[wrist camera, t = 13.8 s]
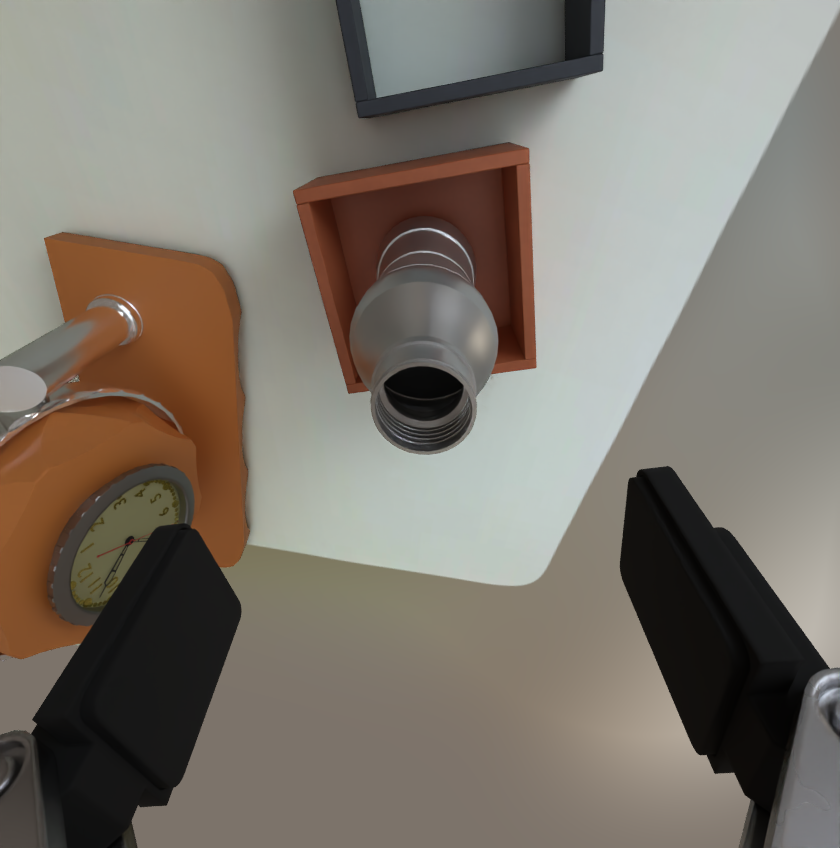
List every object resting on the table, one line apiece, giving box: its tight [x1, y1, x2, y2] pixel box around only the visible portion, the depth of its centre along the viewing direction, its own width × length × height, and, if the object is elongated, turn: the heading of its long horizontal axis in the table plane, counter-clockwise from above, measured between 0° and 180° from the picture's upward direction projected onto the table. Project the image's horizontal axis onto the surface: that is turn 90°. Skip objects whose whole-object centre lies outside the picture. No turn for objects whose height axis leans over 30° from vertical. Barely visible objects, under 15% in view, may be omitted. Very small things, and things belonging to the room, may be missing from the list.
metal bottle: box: [349, 216, 498, 455], centre depth 24 cm, size 6×7×20 cm
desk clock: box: [0, 232, 250, 661], centre depth 33 cm, size 12×30×20 cm, turn 171°
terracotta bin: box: [293, 142, 536, 394], centre depth 31 cm, size 12×12×7 cm
